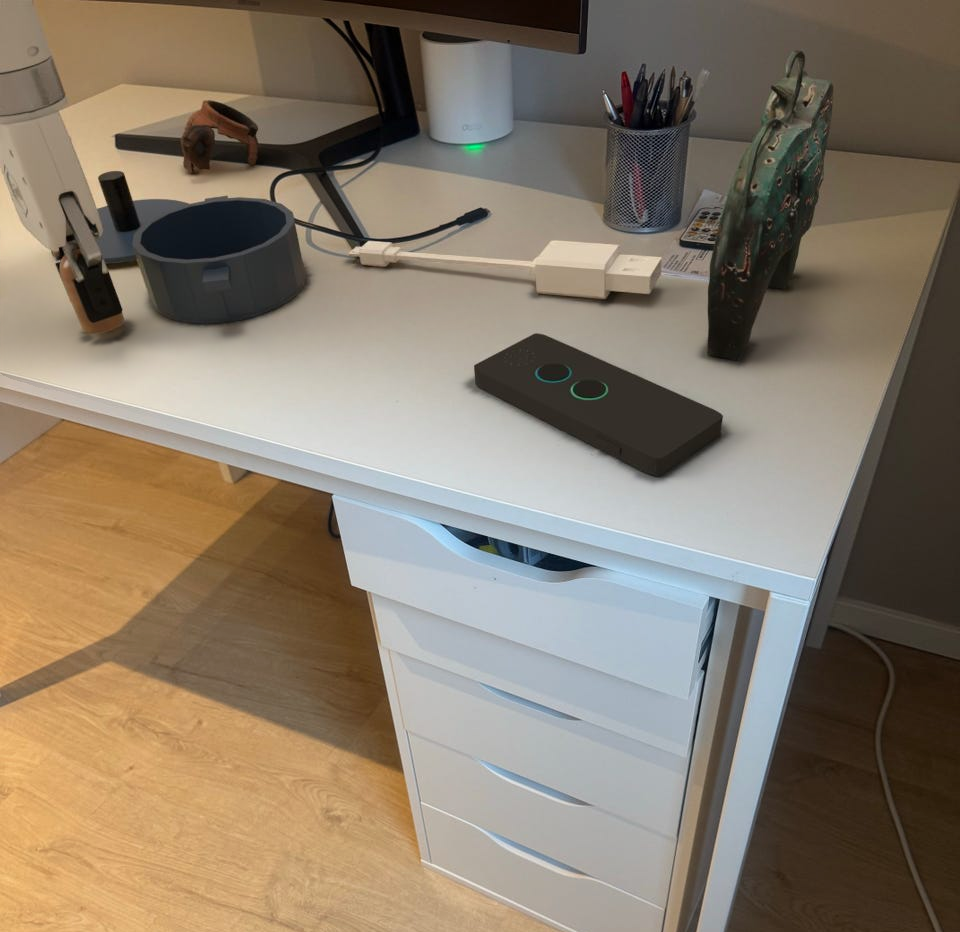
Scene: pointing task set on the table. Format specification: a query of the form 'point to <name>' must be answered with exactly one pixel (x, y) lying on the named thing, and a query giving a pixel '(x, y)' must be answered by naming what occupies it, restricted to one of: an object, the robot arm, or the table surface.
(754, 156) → the dark green sculpted piece
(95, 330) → the brown domed cylinder
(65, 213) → the robot arm
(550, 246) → the charging cable
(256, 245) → the pot
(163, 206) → the lid
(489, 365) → the smart home device
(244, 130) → the orange-brown curved ring piece
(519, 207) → the table surface
